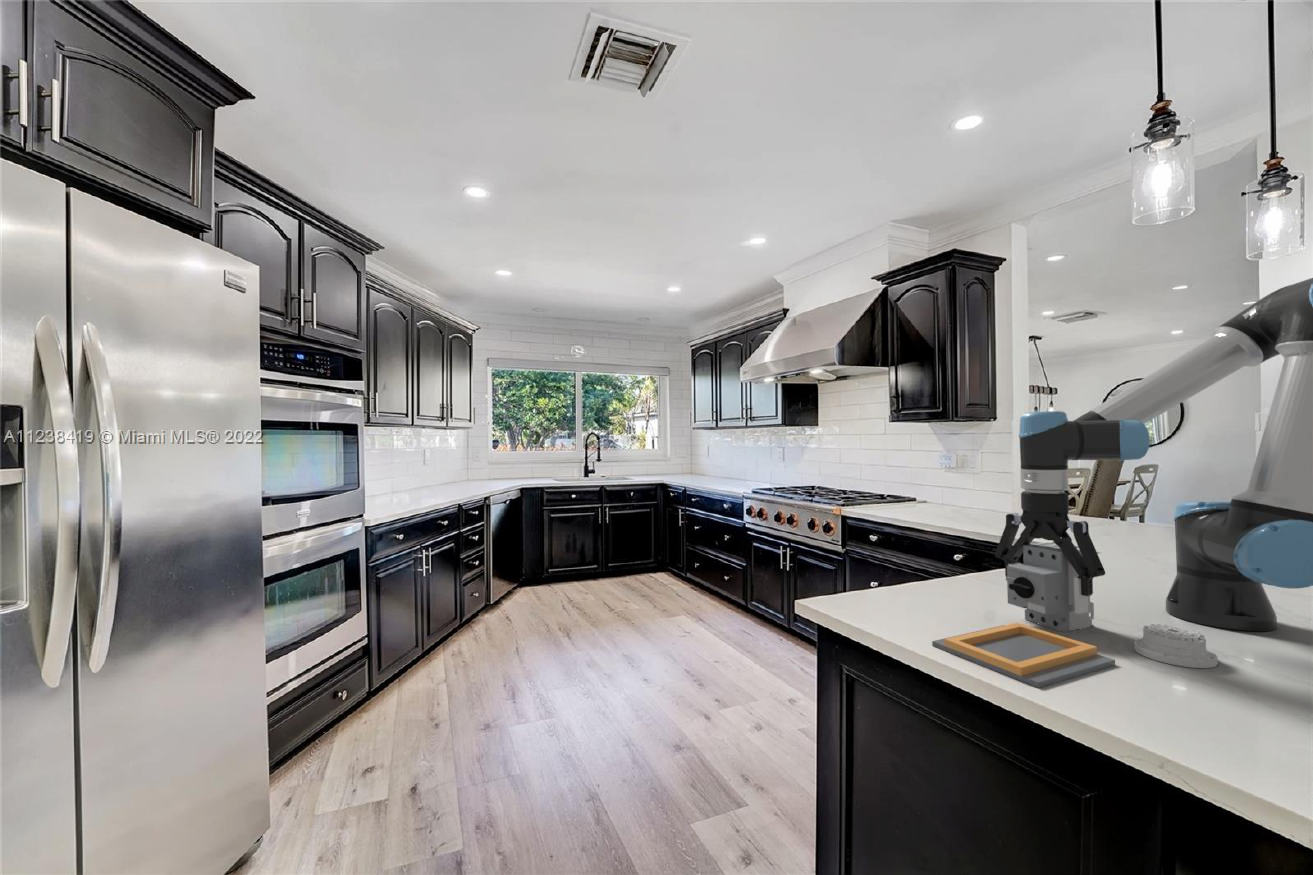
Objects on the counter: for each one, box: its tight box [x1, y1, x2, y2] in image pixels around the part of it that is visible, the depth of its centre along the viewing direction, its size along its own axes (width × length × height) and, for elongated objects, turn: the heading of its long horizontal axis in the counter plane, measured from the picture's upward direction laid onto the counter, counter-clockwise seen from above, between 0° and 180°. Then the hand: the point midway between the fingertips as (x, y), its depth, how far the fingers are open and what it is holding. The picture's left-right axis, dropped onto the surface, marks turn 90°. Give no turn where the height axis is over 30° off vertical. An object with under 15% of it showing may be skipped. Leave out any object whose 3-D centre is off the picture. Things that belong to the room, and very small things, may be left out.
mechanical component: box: [1133, 623, 1219, 669], centre depth 89 cm, size 10×4×10 cm
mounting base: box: [931, 622, 1116, 689], centre depth 91 cm, size 19×18×2 cm
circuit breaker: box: [1005, 541, 1095, 633], centre depth 104 cm, size 8×14×15 cm, turn 107°
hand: (1046, 603), depth 104 cm, fingers open, 11 cm apart
